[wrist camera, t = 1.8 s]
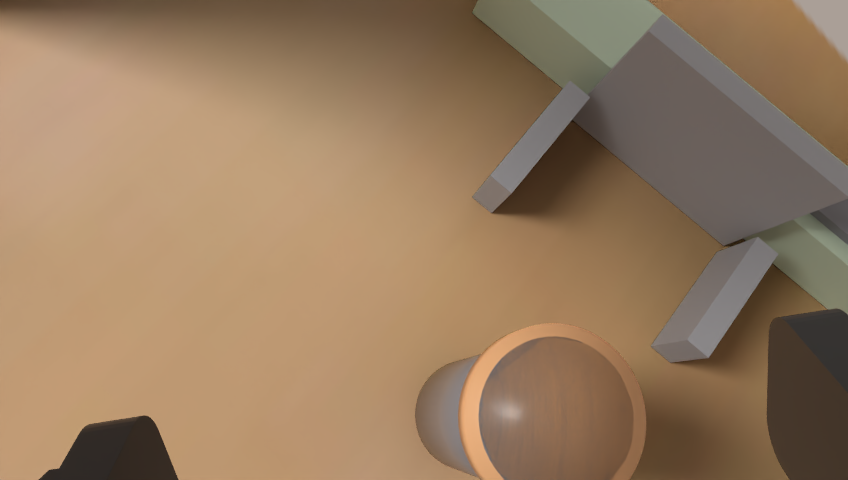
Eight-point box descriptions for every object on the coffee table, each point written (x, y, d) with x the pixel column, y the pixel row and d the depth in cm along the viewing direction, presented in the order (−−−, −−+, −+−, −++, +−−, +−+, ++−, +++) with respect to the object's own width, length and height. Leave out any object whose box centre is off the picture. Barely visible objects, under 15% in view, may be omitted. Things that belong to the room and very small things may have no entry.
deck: (376, 117, 37) (402, 27, 28) (519, -39, 40) (582, -163, 31) (766, 443, 36) (914, 453, 28) (879, 261, 40) (1044, 219, 31)
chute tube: (380, 424, 34) (426, 432, 22) (458, 326, 35) (539, 285, 24) (478, 507, 34) (576, 558, 22) (552, 405, 35) (680, 403, 24)
